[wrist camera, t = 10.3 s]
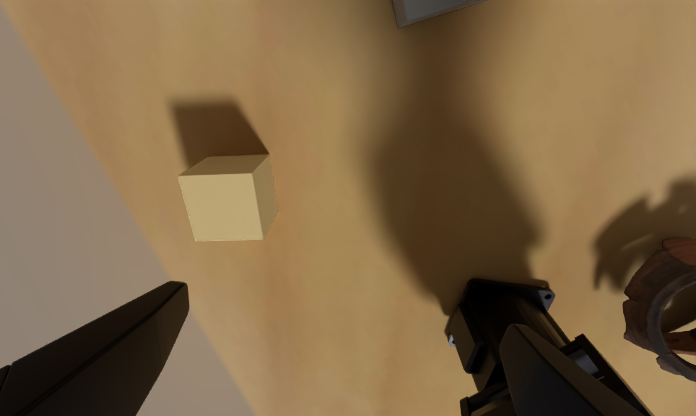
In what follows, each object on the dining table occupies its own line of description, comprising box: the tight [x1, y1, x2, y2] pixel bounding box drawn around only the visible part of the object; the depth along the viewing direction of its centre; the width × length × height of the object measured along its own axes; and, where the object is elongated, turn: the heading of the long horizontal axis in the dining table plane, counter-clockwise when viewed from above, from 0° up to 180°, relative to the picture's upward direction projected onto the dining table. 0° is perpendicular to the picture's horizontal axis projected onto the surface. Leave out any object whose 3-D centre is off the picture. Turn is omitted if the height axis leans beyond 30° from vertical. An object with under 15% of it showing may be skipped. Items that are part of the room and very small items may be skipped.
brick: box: [178, 154, 278, 241], centre depth 20 cm, size 4×4×4 cm
